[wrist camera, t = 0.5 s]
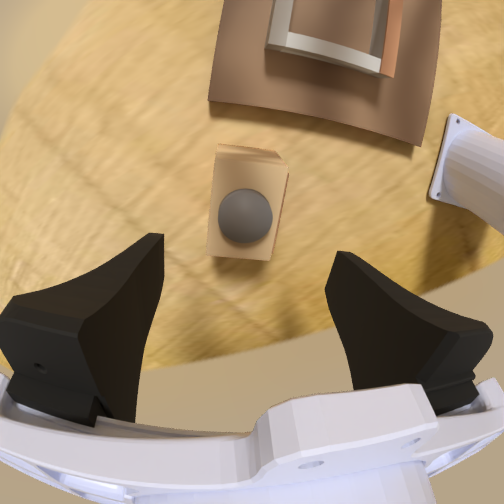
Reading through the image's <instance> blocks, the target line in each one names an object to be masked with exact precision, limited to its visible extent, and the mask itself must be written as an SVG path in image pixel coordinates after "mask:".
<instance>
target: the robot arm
mask: <svg viewBox="0 0 504 504" xmlns="http://www.w3.org/2000/svg"><path fill="white" fill-rule="evenodd" d="M456 120H457V123H456ZM437 193H438V195H437ZM429 196H430V197H431V198H432V199H435V200H439V201H442V202H445V203H449V204H452V205H456V206H459V207H462V208H465V209H468V210H470V211H471V212H473V213H474V214H476V215H477V216H478V217H480V218H481V219H482V220H484V221H485V222H487V223H488V224H489V225H491V226H492V227H493V228H495V229H496V230H497V231H499V232H500V233H501V234H502V235H504V140H501V139H499V138H496V137H493V136H491V135H490V134H488V133H487V132H485V131H484V130H482V129H480V128H479V127H477V126H475V125H474V124H472V123H470V122H468V121H467V120H465V119H463V118H461V117H459V116H458V115H456V114H452V113H451V114H450V115H449V117H448V121H447V126H446V130H445V135H444V139H443V143H442V147H441V151H440V155H439V159H438V163H437V166H436V170H435V173H434V177H433V180H432V183H431V187H430V190H429ZM163 281H164V234H158V233H148V234H147V235H145V236H144V237H142V238H141V239H140V240H138V241H137V242H136V243H134V244H133V245H131V246H130V247H129V248H127V249H126V250H124V251H123V252H122V253H120V254H118V255H117V256H115V257H114V258H112V259H111V260H109V261H108V262H106V263H104V264H103V265H101V266H99V267H98V268H96V269H94V270H92V271H90V272H88V273H86V274H84V275H81V276H79V277H77V278H74V279H72V280H70V281H67V282H65V283H62V284H59V285H56V286H53V287H50V288H46V289H43V290H39V291H35V292H31V293H26V294H21V295H16V296H13V297H12V299H11V300H10V302H9V303H8V304H7V306H6V307H5V309H4V310H3V312H2V313H1V314H0V349H1V350H2V352H3V354H4V356H5V357H6V359H7V361H8V362H9V364H10V366H11V367H12V369H13V370H14V374H13V376H12V378H11V380H10V378H8V377H7V376H6V375H5V374H3V373H1V372H0V461H2V462H4V463H6V464H7V465H10V466H11V467H13V468H15V469H17V470H19V471H21V472H23V473H25V474H27V475H29V476H31V477H33V478H35V479H38V480H40V481H42V482H44V483H47V484H49V485H51V486H54V487H56V488H58V489H61V490H63V491H66V492H68V493H71V494H74V495H77V496H79V497H82V498H85V499H88V500H91V501H94V502H98V503H101V504H437V503H436V500H435V496H434V493H433V490H432V487H431V484H430V481H429V478H430V477H432V476H434V475H436V474H438V473H440V472H442V471H444V470H446V469H448V468H450V467H452V466H454V465H455V464H457V463H459V462H461V461H463V460H464V459H466V458H468V457H470V456H472V455H473V454H475V453H477V452H478V451H480V450H482V449H483V448H484V447H485V446H487V445H488V444H489V443H491V442H492V441H493V440H494V439H496V438H497V437H498V436H499V435H500V434H501V433H503V432H504V393H503V391H502V389H501V387H500V386H499V384H498V382H497V381H496V379H495V378H494V377H493V378H490V379H487V380H485V381H482V382H480V383H478V384H477V385H476V386H475V385H474V384H473V382H472V380H474V379H475V374H474V372H473V369H474V368H475V367H476V365H477V364H478V363H479V362H480V360H481V359H482V358H483V357H484V355H485V354H486V352H487V351H488V349H489V348H490V346H491V344H492V340H493V332H492V331H491V330H490V329H489V327H488V326H487V325H486V324H485V323H484V322H481V321H477V320H474V319H471V318H467V317H464V316H460V315H458V314H455V313H452V312H450V311H447V310H445V309H442V308H440V307H438V306H436V305H434V304H432V303H430V302H427V301H425V300H424V299H422V298H420V297H418V296H416V295H415V294H413V293H411V292H409V291H408V290H406V289H404V288H403V287H401V286H400V285H398V284H397V283H395V282H394V281H392V280H391V279H389V278H388V277H387V276H385V275H384V274H382V273H381V272H380V271H378V270H377V269H375V268H374V267H373V266H371V265H370V264H368V263H367V262H366V261H364V260H363V259H361V258H360V257H358V256H356V255H355V254H353V253H351V252H345V251H337V254H336V257H335V260H334V263H333V266H332V269H331V272H330V275H329V278H328V281H327V284H326V286H325V294H326V298H327V303H328V307H329V310H330V313H331V315H332V318H333V321H334V323H335V326H336V328H337V331H338V333H339V336H340V339H341V341H342V344H343V347H344V349H345V353H346V356H347V360H348V364H349V368H350V372H351V378H352V383H353V389H354V390H353V391H343V392H332V393H318V394H311V395H306V396H300V397H295V398H290V399H288V400H285V401H283V402H281V403H278V404H276V405H274V406H271V407H270V408H269V409H268V410H267V411H266V412H265V413H264V414H263V415H262V416H261V417H260V418H259V419H258V420H257V421H256V424H255V427H254V429H253V431H252V432H245V433H231V432H228V433H227V432H206V431H193V430H182V429H173V428H172V429H171V428H164V427H157V426H150V425H143V424H137V423H135V417H136V405H137V394H138V385H139V379H140V371H141V365H142V359H143V353H144V348H145V344H146V340H147V336H148V333H149V330H150V327H151V324H152V321H153V318H154V315H155V312H156V309H157V306H158V303H159V300H160V296H161V292H162V287H163Z"/></svg>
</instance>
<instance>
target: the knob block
mask: <svg viewBox="0 0 504 504" xmlns="http://www.w3.org/2000/svg"><path fill="white" fill-rule="evenodd" d="M288 168H289V167H288V166H287V165H286V164H285V162H284V161H283V160H282V159H281V157H280V156H279V155H278V154H277V153H276V151H273V150H266V149H259V148H252V147H244V146H235V145H226V144H218V146H217V151H216V156H215V163H214V172H213V181H212V191H211V201H210V211H209V222H208V233H207V245H206V255H207V256H219V257H230V258H242V259H253V260H265V261H270V258H271V253H272V254H273V250H274V246H275V241H276V236H277V231H278V226H279V222H280V217H281V212H282V207H283V202H284V197H285V192H286V187H287V182H288V177H289V173H288Z"/></svg>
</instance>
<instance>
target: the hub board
mask: <svg viewBox="0 0 504 504" xmlns="http://www.w3.org/2000/svg"><path fill="white" fill-rule="evenodd" d="M441 9H442V0H224V4H223V9H222V15H221V20H220V25H219V31H218V36H217V42H216V48H215V54H214V60H213V66H212V73H211V80H210V87H209V94H208V101H216V102H226V103H235V104H243V105H251V106H258V107H265V108H271V109H277V110H283V111H289V112H294V113H299V114H304V115H309V116H314V117H318V118H323V119H327V120H332V121H336V122H340V123H344V124H348V125H351V126H355V127H359V128H362V129H366V130H369V131H373V132H376V133H380V134H383V135H386V136H389V137H392V138H395V139H398V140H401V141H404V142H407V143H410V144H413V145H416V146H419V147H421V145H422V141H423V137H424V132H425V128H426V123H427V119H428V114H429V109H430V104H431V98H432V93H433V87H434V80H435V74H436V67H437V59H438V50H439V40H440V28H441Z"/></svg>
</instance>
